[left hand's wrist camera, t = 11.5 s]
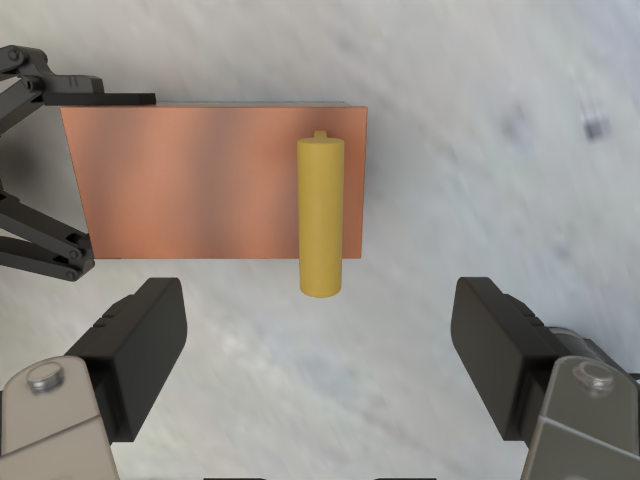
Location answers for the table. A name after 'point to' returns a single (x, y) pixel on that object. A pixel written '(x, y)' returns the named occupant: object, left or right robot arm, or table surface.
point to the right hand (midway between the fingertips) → (159, 173)
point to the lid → (223, 183)
